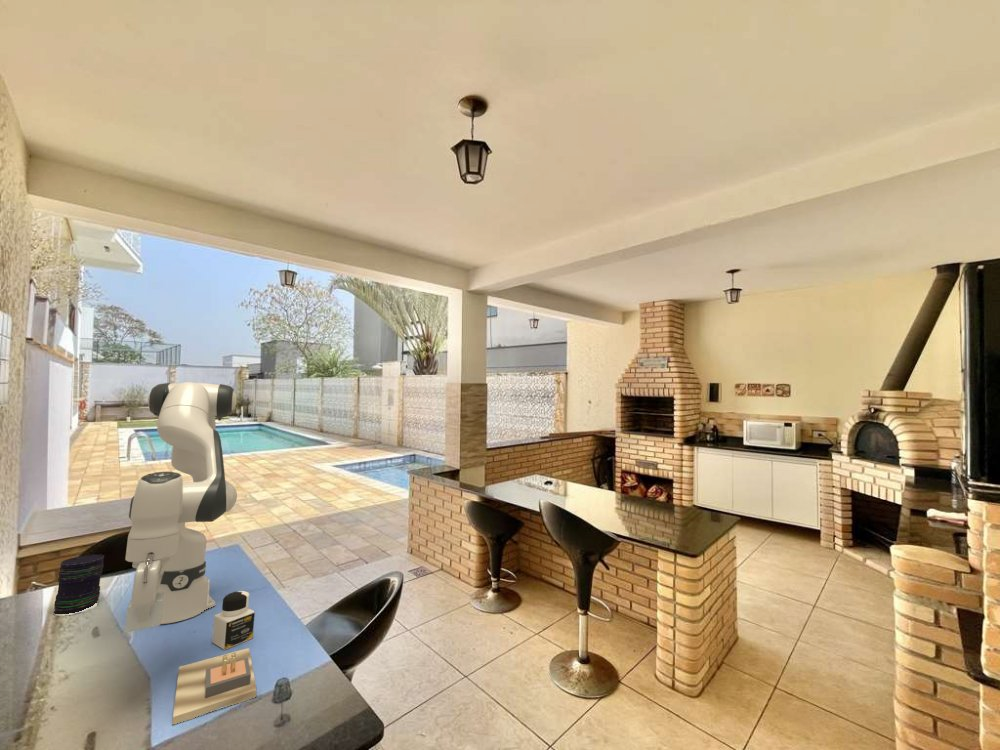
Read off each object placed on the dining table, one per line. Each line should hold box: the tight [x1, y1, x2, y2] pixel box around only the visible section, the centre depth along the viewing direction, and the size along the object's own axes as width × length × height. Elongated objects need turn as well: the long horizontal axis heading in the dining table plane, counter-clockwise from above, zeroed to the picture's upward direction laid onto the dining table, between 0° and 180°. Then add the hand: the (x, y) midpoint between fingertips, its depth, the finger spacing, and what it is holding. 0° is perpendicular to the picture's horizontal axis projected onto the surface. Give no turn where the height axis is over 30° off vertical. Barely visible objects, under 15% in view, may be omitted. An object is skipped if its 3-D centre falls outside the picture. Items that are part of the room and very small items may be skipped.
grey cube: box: [124, 592, 165, 633], centre depth 87 cm, size 6×6×5 cm
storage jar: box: [53, 553, 105, 614], centre depth 126 cm, size 10×10×15 cm
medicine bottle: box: [211, 590, 256, 651], centre depth 109 cm, size 7×7×12 cm
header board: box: [171, 647, 258, 726], centre depth 90 cm, size 20×14×7 cm
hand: (145, 614), depth 87 cm, fingers closed on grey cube, 6 cm apart
